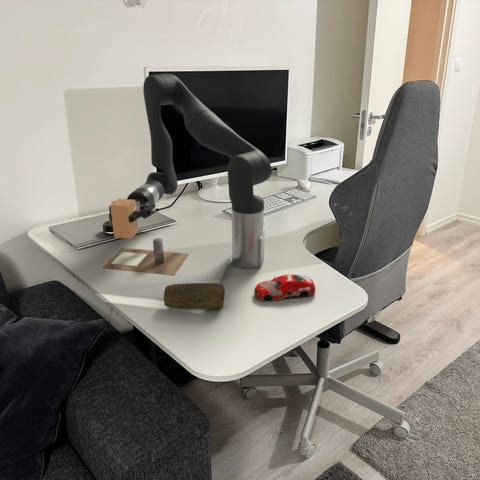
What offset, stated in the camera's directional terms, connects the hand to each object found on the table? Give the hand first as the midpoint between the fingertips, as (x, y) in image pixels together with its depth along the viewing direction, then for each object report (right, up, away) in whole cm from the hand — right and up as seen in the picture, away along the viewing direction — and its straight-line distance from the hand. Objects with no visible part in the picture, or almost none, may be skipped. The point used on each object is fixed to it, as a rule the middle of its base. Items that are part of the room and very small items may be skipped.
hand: (120, 218), depth 129 cm
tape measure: (-10, -3, +31) cm, 33 cm away
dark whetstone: (+22, -23, -13) cm, 35 cm away
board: (+6, -14, +7) cm, 17 cm away
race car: (+46, -21, -7) cm, 51 cm away
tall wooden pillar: (0, -4, +5) cm, 7 cm away
